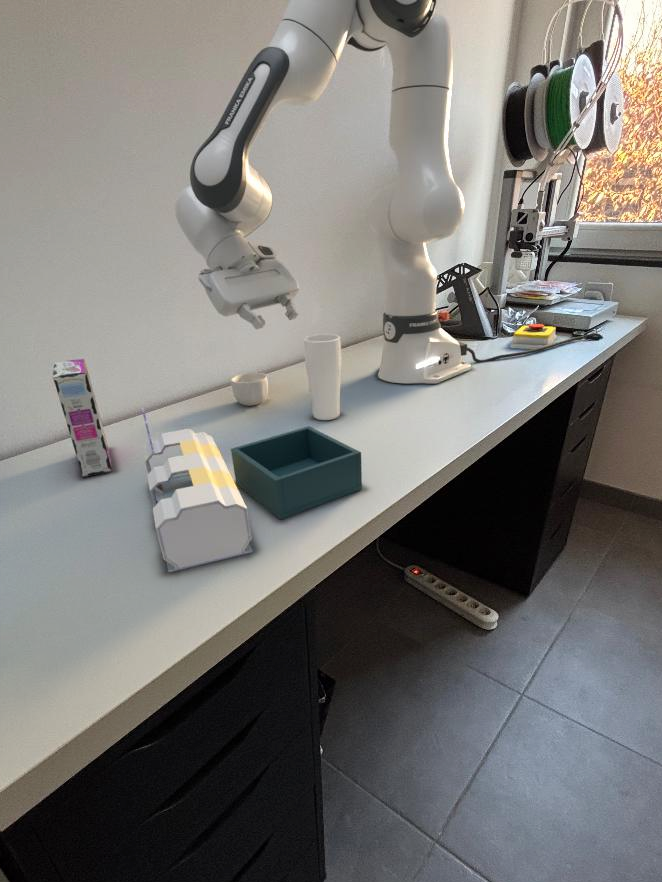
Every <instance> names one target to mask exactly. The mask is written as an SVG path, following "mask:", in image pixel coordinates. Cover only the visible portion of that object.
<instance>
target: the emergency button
mask: <svg viewBox="0 0 662 882" xmlns="http://www.w3.org/2000/svg"><path fill="white" fill-rule="evenodd" d="M556 331H557V327H556V326H545V325H544V324H543V323H531V324H528V325H522V326H521V327H520V328H518V329H517V330H516V331H515V332H514V333H513V336H512V342H511V343H510V344H509V348H510V349H523V350H524V349H525V350H533V349H537V348H541V347H544V346H548V345H551V344H553V343H554V341H555V340H556V339H557V335H556ZM545 350H547V349H545ZM545 350H544V351H545Z"/></svg>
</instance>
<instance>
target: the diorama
mask: <svg viewBox="0 0 662 882" xmlns="http://www.w3.org/2000/svg"><path fill="white" fill-rule="evenodd" d="M141 412H142V415H143V420H144V424H145V429H146V433H147V436H148V442H147V444H146V445H145V446H144V447H142V451H143V457H144V463H145V467H146V471H147V475H146V477H147V483H148V489H149V493H150V498H151V501H152V506H153V507H152V513H153V514H152V515H153V519H154V525H155V532H156V536H157V538H158V543H159V547H160V551H161V555H162V558H163V560H164V561H166V567H167V572H168V573H172V572H175V571H180V570H185V569H189V568H193V567H197V566H201V565H205V564H210V563H215V562H217V561H222V560H226V559H230V558H234V557H238V556H239V557H240V556H242V555H243V556H244V555H246V554H247V555H248V554H251V553H253V549H252V546H251V544H250V542H251V541H252V540H253V538H252V532H251V531H252V530H251V523H250V517H249V510H248V507H247V505H246V503H245V501H244V499H243V497H242V495H241V492H240V491H239V489H238V487H237V484H236V482H235V481H234V479H233V476H232V475H231V473H230V470H229V468H228V466H227V464H226V462H225V460H224V458H223V456H222V454H221V452H220V450H219V448H218V446H217V444H216V442H215V439H214V438H213V436H212V435H211V434H208V433H206V432H204V431H200V432H194V431H193V430H192V429H190V428H185V429H179V430H173V431H167V432H162V433H160V435H159V436H158V438H157V439H156V440H152V436H151V432H150V427H149V423H148V419H147V415H146V411H145V408H144V407H141ZM175 446H180V450H181V453H182V455H176V456H172V457H168V458H167V459H166V461H165V463H164V464H163V465H157V466H153V468H151V464H150V460H151V459H152V458H153V457H154V456H160V455H163V454H164V452H165V449H166V448H169V447H175ZM186 473H188V474H189V475H185V476H181V477H176V478H175V477H174V476H177V475H181V474H186ZM173 477H174V478H173Z"/></svg>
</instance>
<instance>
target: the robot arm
mask: <svg viewBox="0 0 662 882" xmlns="http://www.w3.org/2000/svg"><path fill="white" fill-rule="evenodd" d="M436 6H437V0H290V1H289V3H288V5H287V6H286V9H285V11H284V14H283V16H282V18H281V21H280V23H279V26H278V27H277V29H276V31H275V34H274V36H273V38H272V39H271V41H270V42H269V44H268V45H267V47H264V48H262V49H261V50H260V51H259V52H258V53H257V54H256V55H255V56H254V58H253V60H252V61H251V62H250V64H249V66H248V68H247V69H246V70H245V72H244V74H243V76H242V78H241V80H240V82H239V83H238V85H237V87H236V89H235V91H234V92H233V95H232V97H231V98H230V100H229V101H228V104H227V106H226V108H225V109H224V112H223V113H222V115H221V117H220V118H219V121H218V123H217V125H216V126H215V128H214V129H213V131H212V133H210V135H209V136H208V138H206V139H205V141H204V142H203V143H202V144H201V145H200V147H199V148H198V149H197V151H196V153H195V154H194V156H193V159H192V161H191V164H190V170H189V181H190V185H187V186H186V187H185V188H184V189H183V190H182V191H181V192H180V193H179V195H178V197H177V199H176V202H175V207H174V208H175V209H174V210H175V218H176V220H177V223H178V225H179V227H180V229H181V231H182V232H183V234H184V235H185V237H186V238H187V240H188V241H189V243H190V245H191V246H192V247H193V249H194V250H195V251H196V252H197V253H198V254H200V255H201V256H202V257H203V258H204V260H205V264H206V265H207V267H208V268H204V269H201V270H200V272H199V274H198V281H199V282H200V284H201V286H202V287H203V288H204V290H205V293H206V295H207V297H208V299H209V300H210V302H211V304H212V305H213V307H214V309H215V310H216V312H217V313H218V314H219V315H221V316H223V317H230V316H234V315H239V317H240V318H242V319H243V320H245V321H246V322H248V324H251V325H252V326H253V328H254V329H255V330H259V329H263V328H264V326H265V325H266V320H265V319H263V317H262V315H261V314H259V315H257V314H256V313H255V312H253V311H255V310H259V309H262V308H268V307H272V306H276V305H279V304H280V305H281V306H282V307H283V308H284V307H285V310H286V312H285V313H284V315H285V316H286V318H287V319H288V321H292V320H296V319H297V317H298V316H299V311H298V310H297V309H296V307H295V304H294V299H295V297H296V295H297V294H299V293H298V292H299V291H300V286H299V282H298V281H297V279H296V278H295V276H294V275H293V274H292V272H291V271H290V270H289V268H288V267H287V266H286V265H285V263H283V262H282V261H281V260H279V259H277V255H278V254H277V252H276V251H275V250H274V248H272V247H270V246H265V245H261V244H258V243H255V242H253V241H251V240H247V239H246V237H248V236H249V235H251V234H253V232H254V231H256V230H257V229H258V228H259V227H260V226H262V225H263V224H264V223H265V222H266V221H267V220H268V218H269V216H270V214H271V212H272V209H273V198H274V197H273V193H272V188H271V187H270V185H269V183H268V182H267V181H266V180H265V179H264V178H263V176H262V175H261V174H259V172H258V171H257V170H256V169H255V168H253V167H252V166H251V165H250V162H249V157H250V151H251V149H252V147H253V145H254V144H255V142H256V140H257V139H258V136H259V134H260V133H261V131H262V129H263V127H264V126H265V123H266V122H267V120H268V118H269V116H270V114H271V113H272V111H273V110H274V109H275V108H276V107H277V106H278V105H280V104H282V103H285V104H289V105H291V106H300V107H301V106H307V105H310V104H313V103H314V102H316V101H317V100H318V99H319V98H320V97H321V96H322V94H323V92H324V91H325V90H326V88H327V86H328V85H329V83H330V81H331V78H332V76H333V74H334V72H335V69H336V67H337V65H338V63H339V61H340V58H341V55H342V53H343V51H344V48H345V47H346V45H350V46H351V47H353V48H355V49H357V50H358V51H363V52H368V53H370V52H376V51H380V50H381V49H383V48H384V47H387V49H388V52H389V55H390V58H391V64H392V65H391V67H392V71H393V72H392V81H391V93H390V110H389V111H390V113H389V131H388V132H389V133H388V141H389V142H388V143H389V147H390V148H391V150H392V152H393V153H394V155H395V157H396V161H397V165H398V171H399V182H392V183H389V184H386V186H384V187H382V188H381V189H379V190H378V191H376V192H375V193H374V194H373V195H372V196H371V198H370V199H369V202H368V205H367V208H366V209H367V210H366V220H367V223H368V224H367V225H368V227H369V228H370V230H371V231H372V234H373V235H374V237H375V240H376V243H377V245H378V246H377V247H378V250H379V254H380V258H381V263H382V269H383V276H384V313H382V331H383V345H382V354H381V359H380V360H381V361H380V366H379V369H378V374H377V377H378V378H379V379H380V380H382V381H385V382H389V383H394V384H430V385H431V384H432V385H435V384H439V383H442V382H444V381H446V380H449V379H451V378H453V377H456V376H458V375H460V374H464V373H465V372H468V371H470V370H471V368H472V366H471V364H470V363H468V362H466V361H464V360H462V357H463V356H467V355H468V354H467V353H470V354H471V357H472V360H473V362H475V363H487V362H493V361H496V360H500V359H507V358H512V357H517V356H524V355H529V354H533V353H538V352H541V351H545V349H546V350H548V349H551V348H554V347H557V346H560V345H563V344H567V343H570V342H574V341H578V340H579V341H580V340H584V339H587V338H590V337H598V338H599V339H600V340H602V339H603V340H604V336H603V335H602V334H601V333H598V332H592V333H588V334H584V335H581V336H576V337H575V336H574V337H572V338H567V339H564V340H561V341H558V342H553V343H551V344H550V345H548V346H544V347H541V348H537V349H528V350H525V351H524V350H523V351H519V352H512V353H506V354H505V353H504V354H499V355H496V356H493V357H491V358H485V359H479V358H477V357H476V352H475V351H474V350H473V349H472V348H470V347H468V343H465V342H461V341H457V340H456V339H455V338H454V337H453V336H451V335H450V334H449V333H448V332H447V331H445V330H444V329H443V328H442V325H441V321H443V322H447V321H449V319H450V316H451V315H450V312H449V311H443V310H441V311H439V312H437V310H436V308H437V307H436V305H437V304H436V303H437V286H438V285H437V283H438V274H437V270H436V269H435V266H434V265H433V263H432V262H431V260H430V258H429V254H428V250H427V245H426V244H430V243H435V242H437V241H441V240H444V239H447V238H449V237H450V236H453V234H454V233H455V232H456V231H457V230H458V228H459V227H460V225H461V224H462V221H463V218H464V215H465V199H464V195H463V193H462V191H461V189H460V187H459V186H458V185H457V183H456V181H455V180H454V176H453V173H452V168H451V163H450V156H449V142H448V140H449V139H448V138H449V125H450V123H449V122H450V111H451V100H452V98H451V97H452V90H453V89H452V88H453V73H454V65H453V64H454V51H453V49H454V48H453V47H454V45H453V33H452V32H453V31H452V27H451V25H450V22H449V21H448V20H447V18H446V17H445V16H443V15H441V14H439V13H437V12H435V10H436ZM431 8H432V9H431Z"/></svg>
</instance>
